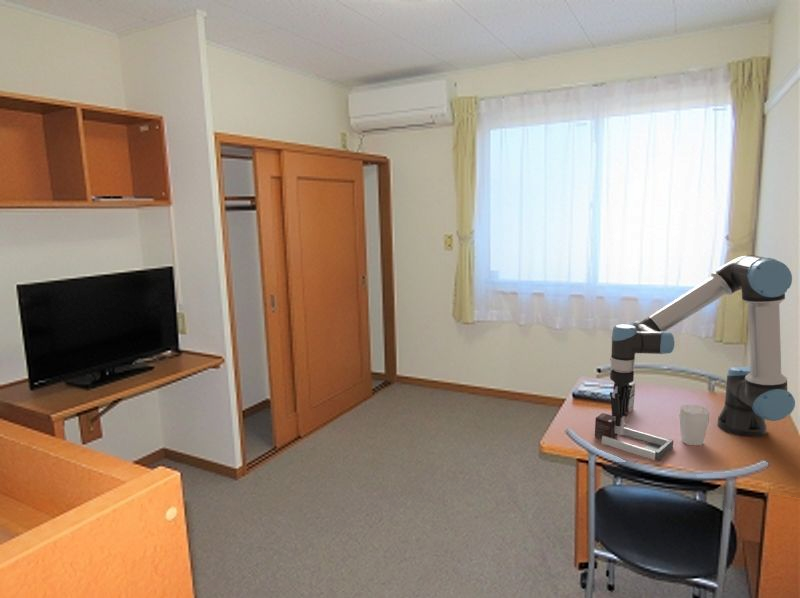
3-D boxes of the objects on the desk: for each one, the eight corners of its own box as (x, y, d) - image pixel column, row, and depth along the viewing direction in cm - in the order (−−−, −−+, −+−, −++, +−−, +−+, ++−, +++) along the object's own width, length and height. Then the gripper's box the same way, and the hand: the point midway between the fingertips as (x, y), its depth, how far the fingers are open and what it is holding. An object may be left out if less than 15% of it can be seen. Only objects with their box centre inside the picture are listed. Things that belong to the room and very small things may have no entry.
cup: (706, 449, 179) (709, 416, 177) (676, 444, 184) (678, 411, 182) (707, 439, 187) (710, 407, 185) (678, 434, 192) (681, 402, 190)
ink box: (625, 415, 209) (626, 387, 207) (612, 412, 213) (614, 384, 210) (634, 409, 215) (635, 381, 213) (622, 406, 218) (623, 379, 216)
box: (601, 431, 195) (602, 412, 194) (617, 436, 191) (618, 416, 190) (594, 436, 191) (595, 417, 190) (610, 441, 187) (611, 422, 186)
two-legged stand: (672, 448, 181) (673, 439, 181) (657, 461, 172) (658, 452, 172) (618, 431, 195) (618, 424, 194) (601, 443, 186) (602, 435, 185)
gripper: (619, 363, 191) (616, 425, 195) (603, 371, 182) (600, 436, 186) (640, 367, 185) (637, 430, 189) (624, 376, 176) (621, 442, 181)
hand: (618, 433), depth 188 cm, fingers closed
